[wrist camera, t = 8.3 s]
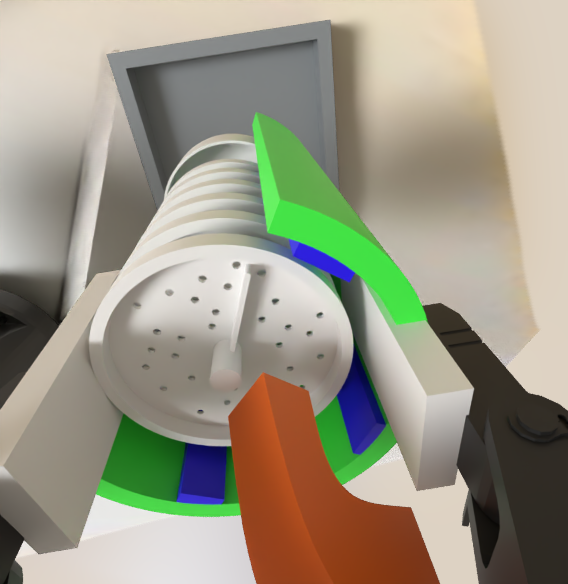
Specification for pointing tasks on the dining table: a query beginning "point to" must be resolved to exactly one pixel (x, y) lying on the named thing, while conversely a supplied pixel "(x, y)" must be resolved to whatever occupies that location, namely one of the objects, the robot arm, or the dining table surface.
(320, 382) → the green-shelled ribbed roller
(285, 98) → the tray
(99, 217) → the dining table surface
